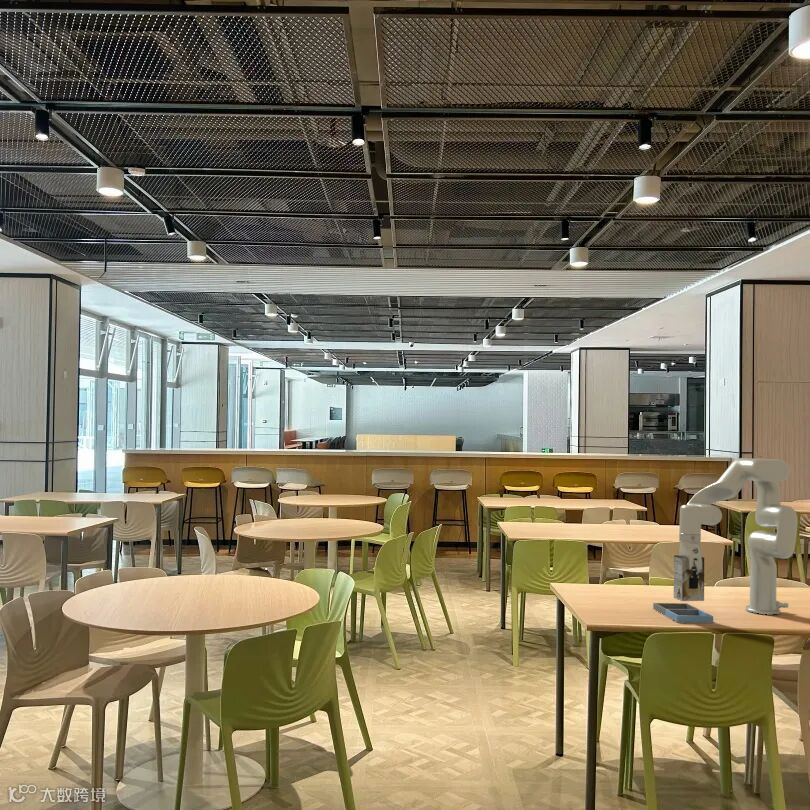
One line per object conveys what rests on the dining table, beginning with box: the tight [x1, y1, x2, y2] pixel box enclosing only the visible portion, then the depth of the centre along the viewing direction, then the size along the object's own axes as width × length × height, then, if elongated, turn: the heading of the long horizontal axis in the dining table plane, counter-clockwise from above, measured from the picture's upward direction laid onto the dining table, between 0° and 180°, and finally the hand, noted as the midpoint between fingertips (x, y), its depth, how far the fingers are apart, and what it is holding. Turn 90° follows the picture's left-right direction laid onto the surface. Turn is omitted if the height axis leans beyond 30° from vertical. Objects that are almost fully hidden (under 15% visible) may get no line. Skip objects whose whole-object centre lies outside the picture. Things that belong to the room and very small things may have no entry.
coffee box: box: [673, 554, 705, 602], centre depth 295 cm, size 9×6×16 cm
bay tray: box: [652, 602, 714, 624], centre depth 300 cm, size 14×22×2 cm, turn 5°
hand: (688, 586), depth 295 cm, fingers closed on coffee box, 6 cm apart
